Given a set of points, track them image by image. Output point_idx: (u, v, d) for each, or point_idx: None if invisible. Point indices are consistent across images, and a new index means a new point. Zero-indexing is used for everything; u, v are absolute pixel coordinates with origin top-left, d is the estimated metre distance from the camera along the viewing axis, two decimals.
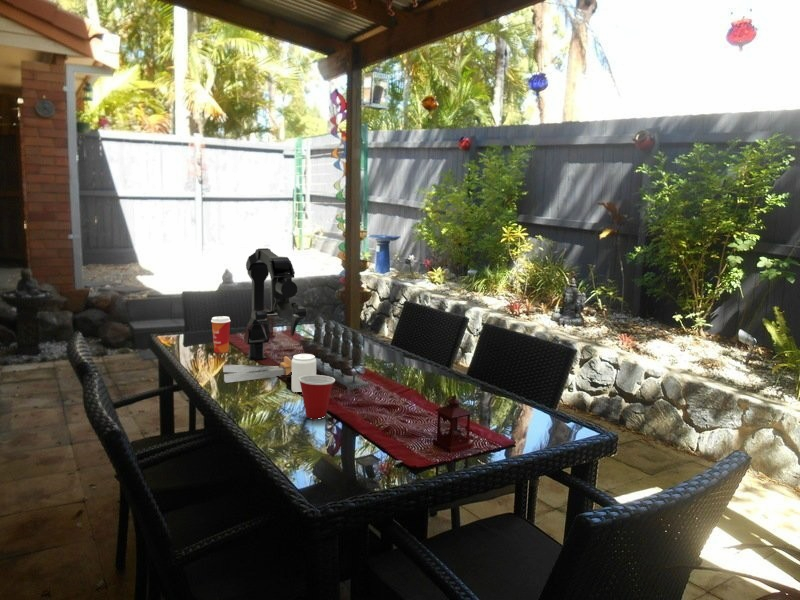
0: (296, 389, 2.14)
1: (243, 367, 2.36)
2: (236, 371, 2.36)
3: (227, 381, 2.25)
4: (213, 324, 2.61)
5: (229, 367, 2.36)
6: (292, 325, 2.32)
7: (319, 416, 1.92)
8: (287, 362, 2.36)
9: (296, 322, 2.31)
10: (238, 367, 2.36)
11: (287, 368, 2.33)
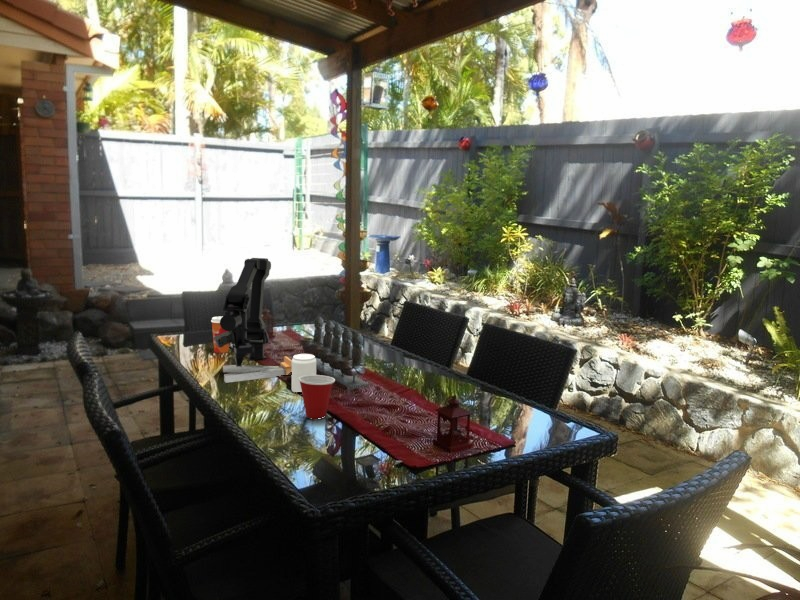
0: (296, 389, 2.14)
1: (243, 367, 2.36)
2: (236, 371, 2.36)
3: (227, 381, 2.25)
4: (213, 324, 2.61)
5: (229, 367, 2.36)
6: None
7: (319, 416, 1.92)
8: (287, 362, 2.36)
9: (235, 354, 2.36)
10: (238, 367, 2.36)
11: (287, 368, 2.33)
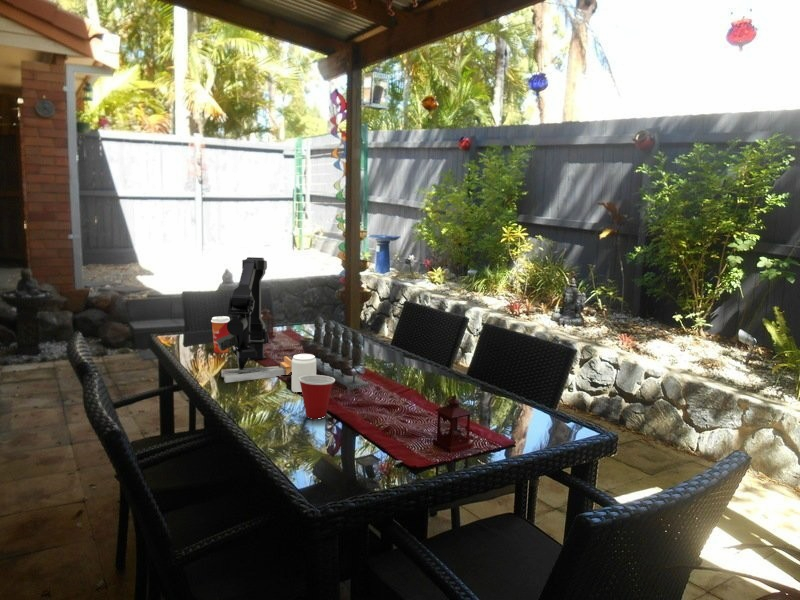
0: (296, 389, 2.14)
1: (243, 370, 2.32)
2: None
3: (227, 381, 2.25)
4: (213, 324, 2.61)
5: (228, 371, 2.30)
6: None
7: (319, 416, 1.92)
8: (287, 362, 2.36)
9: (237, 357, 2.32)
10: (238, 371, 2.31)
11: (287, 368, 2.33)
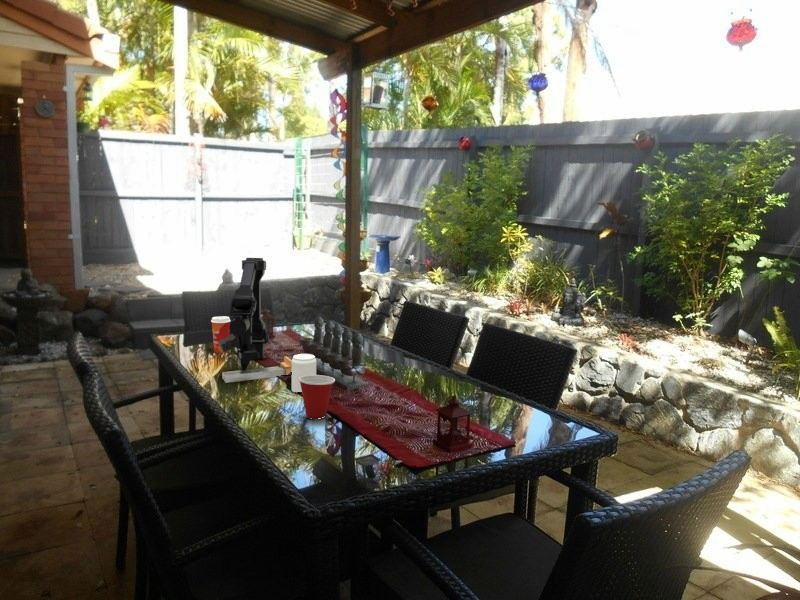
0: (296, 389, 2.14)
1: None
2: None
3: (227, 381, 2.25)
4: (213, 324, 2.61)
5: None
6: None
7: (319, 416, 1.92)
8: (287, 362, 2.36)
9: (239, 359, 2.30)
10: None
11: (287, 368, 2.33)
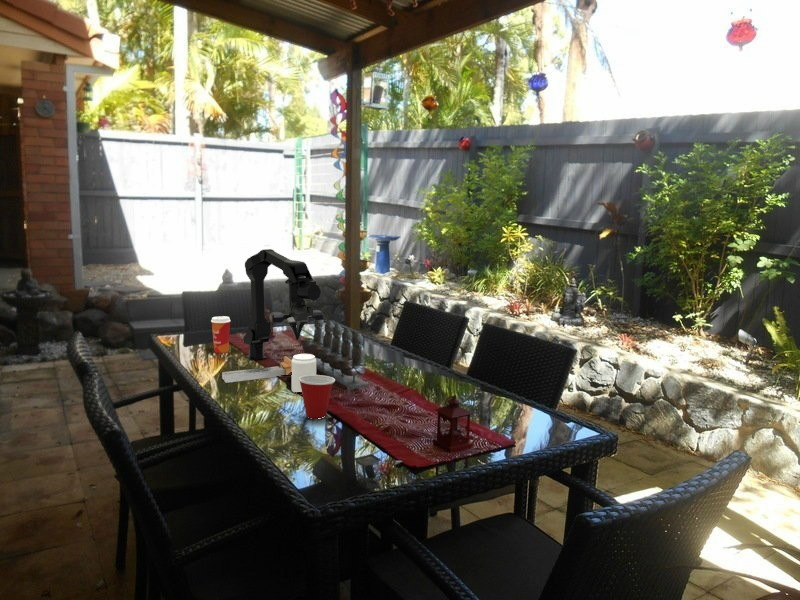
0: (296, 389, 2.14)
1: None
2: None
3: (227, 381, 2.25)
4: (213, 324, 2.61)
5: None
6: (297, 329, 2.36)
7: (319, 416, 1.92)
8: (287, 362, 2.36)
9: (301, 326, 2.35)
10: None
11: (287, 368, 2.33)
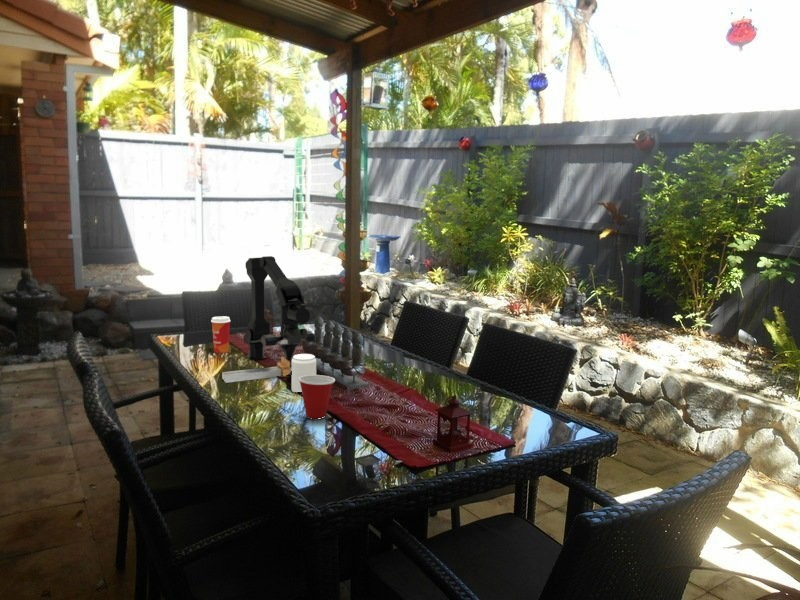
0: (296, 389, 2.14)
1: None
2: None
3: (227, 381, 2.25)
4: (213, 324, 2.61)
5: None
6: (289, 351, 2.36)
7: (319, 416, 1.92)
8: (284, 362, 2.36)
9: (293, 348, 2.35)
10: None
11: (284, 368, 2.32)
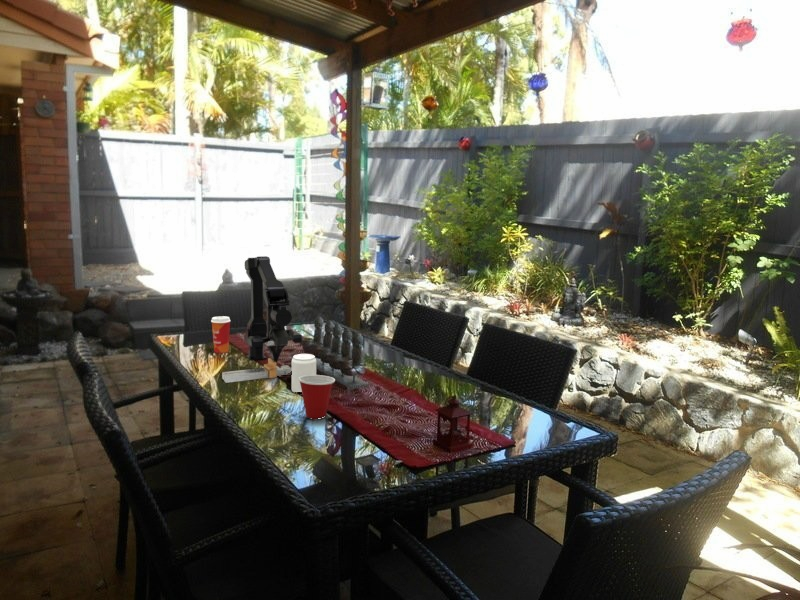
0: (296, 389, 2.14)
1: None
2: None
3: (227, 381, 2.25)
4: (213, 324, 2.61)
5: None
6: None
7: (319, 416, 1.92)
8: (271, 364, 2.33)
9: (280, 349, 2.33)
10: None
11: (271, 370, 2.30)
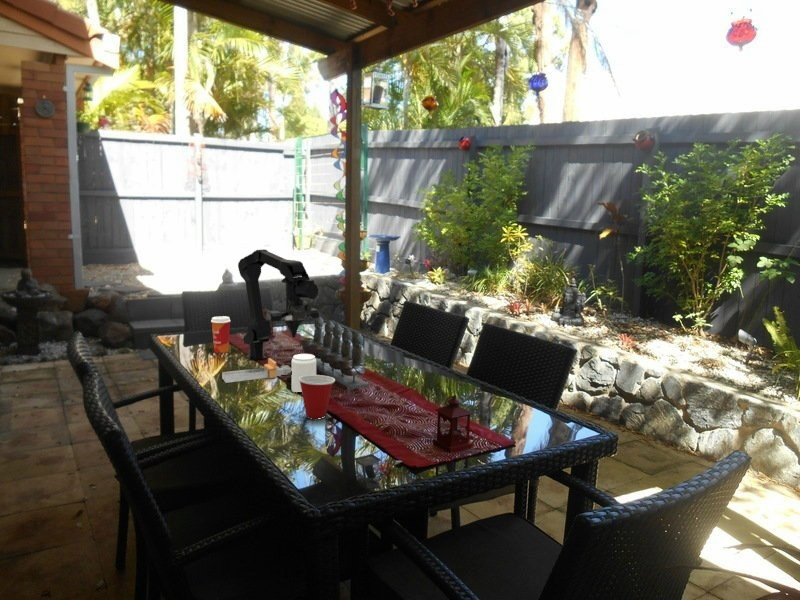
0: (296, 389, 2.14)
1: None
2: None
3: (227, 381, 2.25)
4: (213, 324, 2.61)
5: None
6: (294, 327, 2.41)
7: (319, 416, 1.92)
8: (271, 364, 2.33)
9: (297, 324, 2.40)
10: None
11: (271, 370, 2.30)
